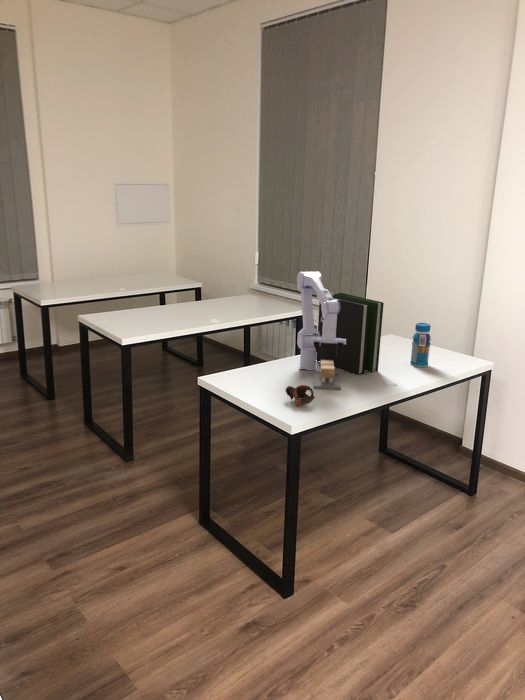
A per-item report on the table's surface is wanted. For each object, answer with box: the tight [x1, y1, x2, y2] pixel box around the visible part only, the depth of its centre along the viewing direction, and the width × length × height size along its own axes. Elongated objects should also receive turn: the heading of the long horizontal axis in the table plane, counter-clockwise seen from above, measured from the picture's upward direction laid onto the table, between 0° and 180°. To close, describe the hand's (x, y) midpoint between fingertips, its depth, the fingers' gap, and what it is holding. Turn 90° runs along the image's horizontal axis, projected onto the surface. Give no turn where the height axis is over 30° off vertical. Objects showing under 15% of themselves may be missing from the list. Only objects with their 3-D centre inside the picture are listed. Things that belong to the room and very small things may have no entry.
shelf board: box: [319, 360, 336, 378], centre depth 249 cm, size 14×6×4 cm, turn 176°
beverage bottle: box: [410, 322, 432, 368], centre depth 276 cm, size 8×8×20 cm
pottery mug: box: [285, 384, 315, 408], centre depth 225 cm, size 12×10×8 cm
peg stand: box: [312, 370, 342, 391], centre depth 250 cm, size 20×11×4 cm, turn 176°
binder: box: [316, 292, 385, 376], centre depth 270 cm, size 27×15×32 cm, turn 37°
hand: (327, 359), depth 248 cm, fingers open, 7 cm apart
